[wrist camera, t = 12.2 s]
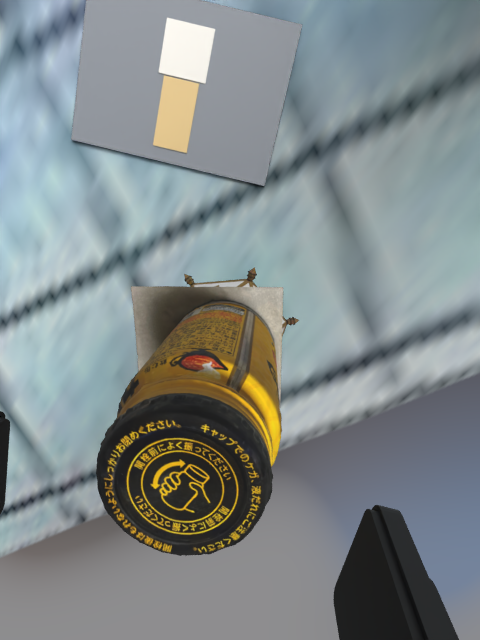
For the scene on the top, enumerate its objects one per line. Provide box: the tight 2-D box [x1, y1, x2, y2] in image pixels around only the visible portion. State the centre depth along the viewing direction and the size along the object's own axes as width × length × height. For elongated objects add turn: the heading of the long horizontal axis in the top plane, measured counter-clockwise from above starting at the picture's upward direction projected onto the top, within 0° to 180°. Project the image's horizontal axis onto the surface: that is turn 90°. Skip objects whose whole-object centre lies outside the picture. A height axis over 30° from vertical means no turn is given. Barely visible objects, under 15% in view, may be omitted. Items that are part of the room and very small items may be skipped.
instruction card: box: [71, 0, 302, 186], centre depth 26 cm, size 10×14×1 cm
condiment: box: [96, 286, 283, 556], centre depth 17 cm, size 7×8×12 cm
